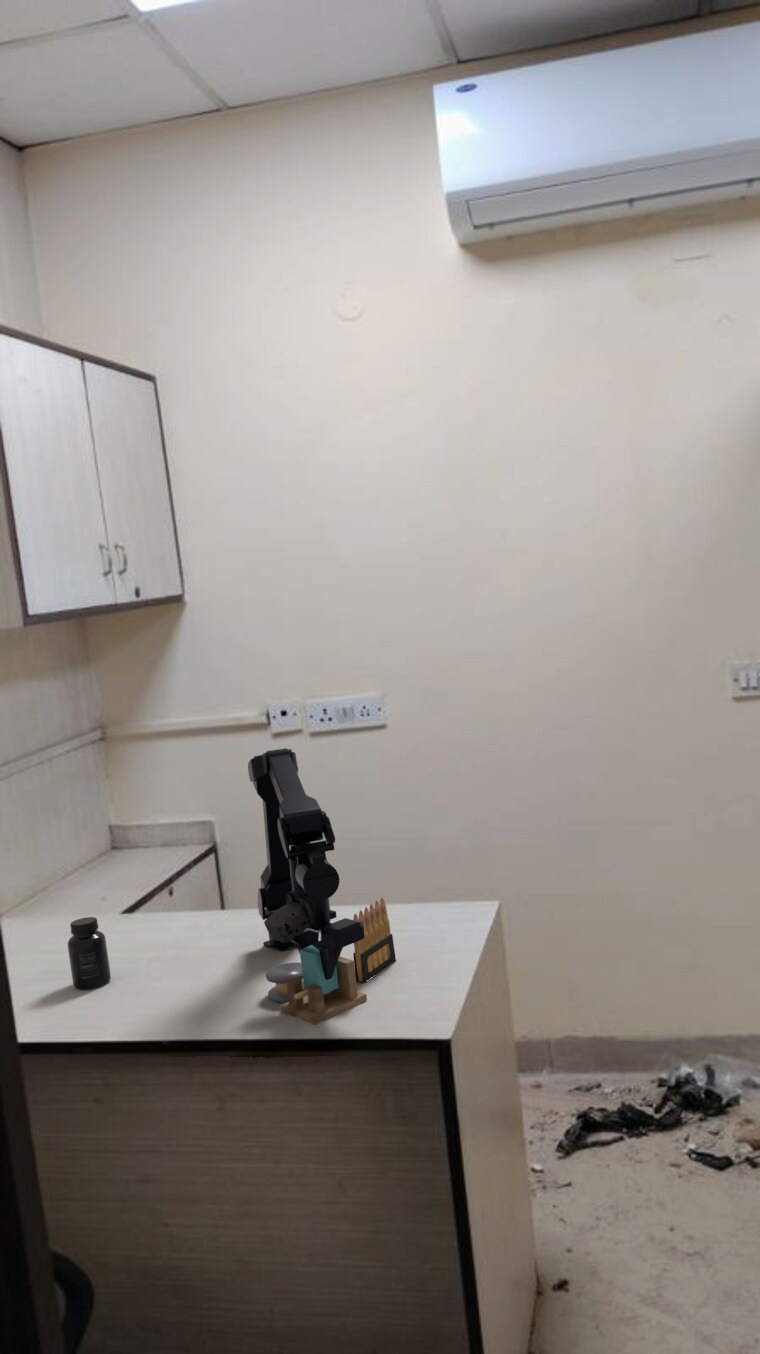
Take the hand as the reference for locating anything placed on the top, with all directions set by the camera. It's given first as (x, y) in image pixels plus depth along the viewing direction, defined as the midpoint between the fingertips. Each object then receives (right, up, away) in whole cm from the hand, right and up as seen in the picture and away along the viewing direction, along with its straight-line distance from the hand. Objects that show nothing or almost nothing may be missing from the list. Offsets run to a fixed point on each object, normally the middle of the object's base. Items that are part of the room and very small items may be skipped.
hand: (320, 976), depth 169 cm
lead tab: (-1, -2, -1) cm, 3 cm away
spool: (-6, -5, +7) cm, 10 cm away
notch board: (+1, -5, 0) cm, 5 cm away
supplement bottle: (-44, -8, +22) cm, 50 cm away
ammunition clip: (+9, -3, +13) cm, 16 cm away
